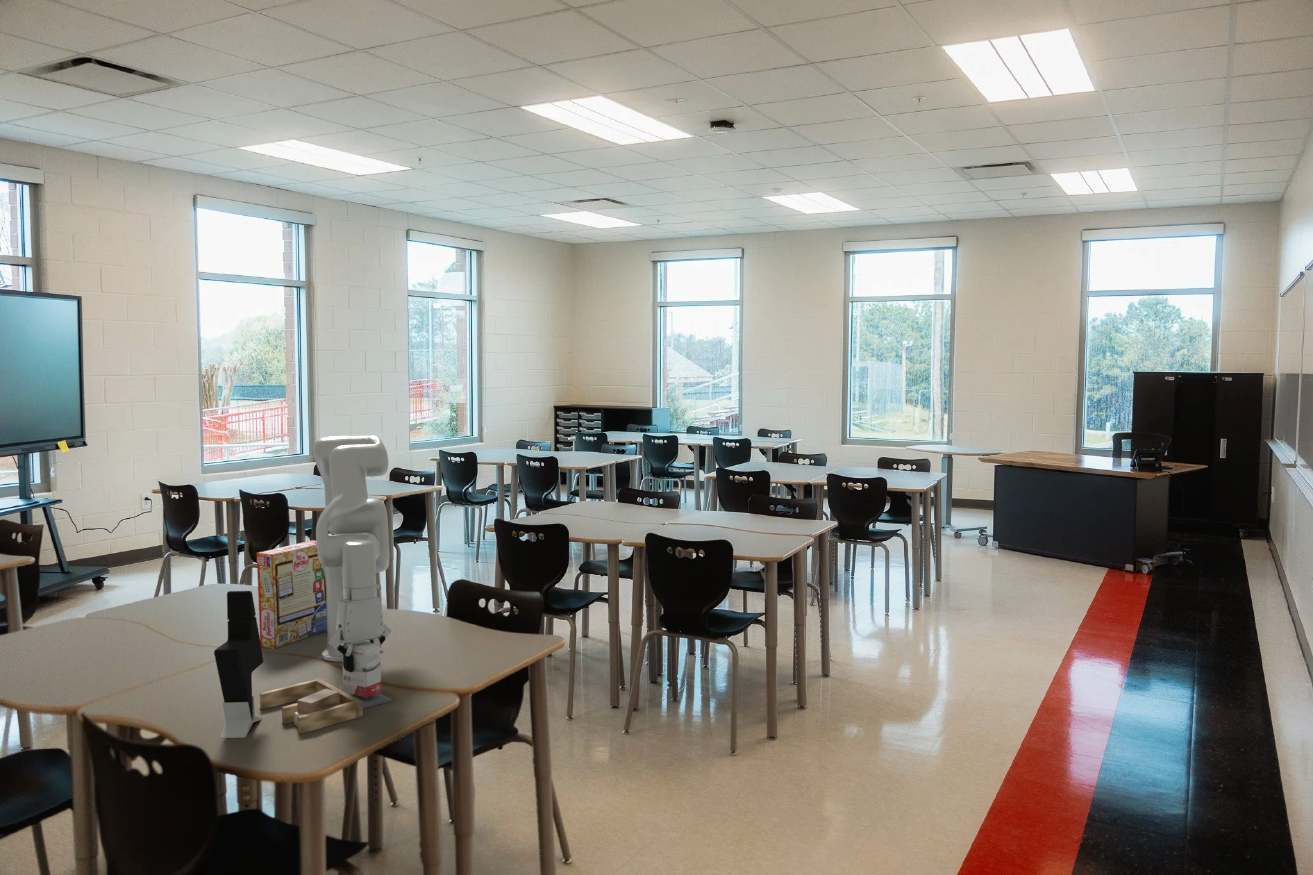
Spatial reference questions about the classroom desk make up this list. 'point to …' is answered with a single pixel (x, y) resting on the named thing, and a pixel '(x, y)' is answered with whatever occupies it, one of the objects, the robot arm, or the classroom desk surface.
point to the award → (239, 664)
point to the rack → (315, 720)
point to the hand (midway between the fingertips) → (361, 667)
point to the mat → (372, 700)
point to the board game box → (291, 594)
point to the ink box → (363, 670)
